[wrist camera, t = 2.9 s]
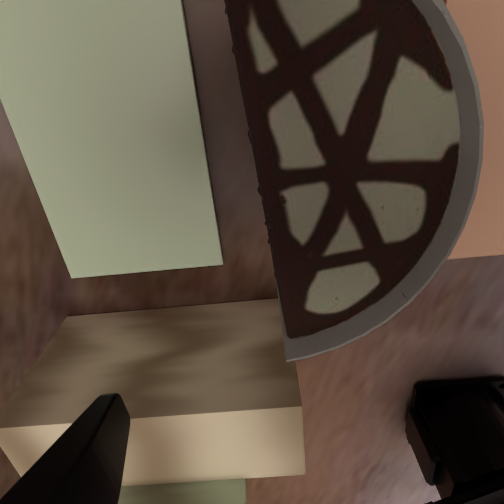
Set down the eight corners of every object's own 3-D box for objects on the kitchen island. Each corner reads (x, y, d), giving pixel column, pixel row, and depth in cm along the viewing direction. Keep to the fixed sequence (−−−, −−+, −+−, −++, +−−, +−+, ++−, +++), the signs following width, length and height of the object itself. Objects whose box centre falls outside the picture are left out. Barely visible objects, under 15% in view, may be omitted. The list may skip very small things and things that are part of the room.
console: (285, 297, 23) (308, 450, 14) (290, 363, 25) (311, 526, 17) (66, 316, 23) (-43, 474, 15) (93, 378, 26) (14, 544, 17)
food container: (381, 220, 20) (480, 347, 12) (272, 239, 21) (288, 374, 12) (374, -58, 15) (563, -226, 6) (224, -23, 15) (190, -128, 6)
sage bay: (171, -68, 14) (169, -71, 14) (223, 261, 22) (222, 264, 21) (-48, -39, 15) (-56, -41, 14) (74, 274, 22) (71, 278, 22)
